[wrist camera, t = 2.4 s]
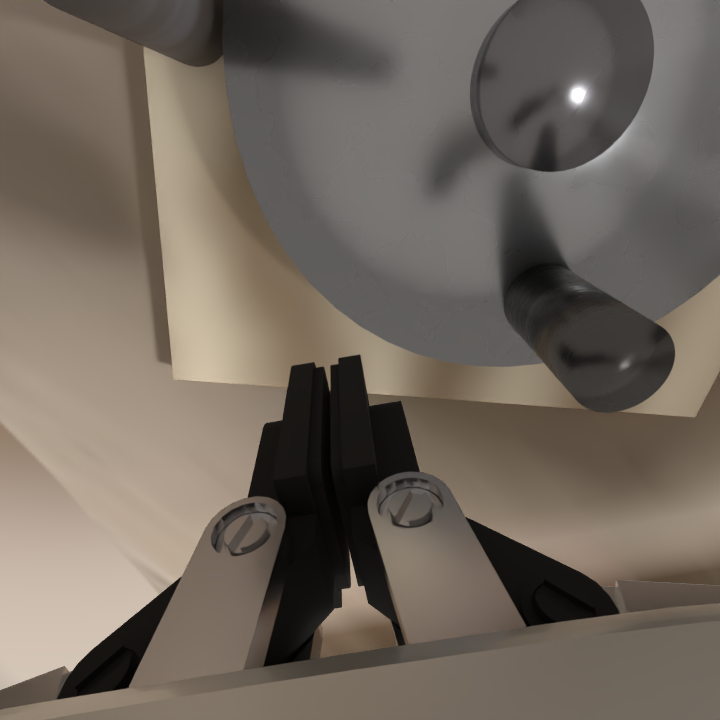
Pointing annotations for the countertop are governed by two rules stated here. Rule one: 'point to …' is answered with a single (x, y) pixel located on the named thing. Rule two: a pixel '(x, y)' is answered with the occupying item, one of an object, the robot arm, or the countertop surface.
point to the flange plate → (491, 172)
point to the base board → (275, 268)
